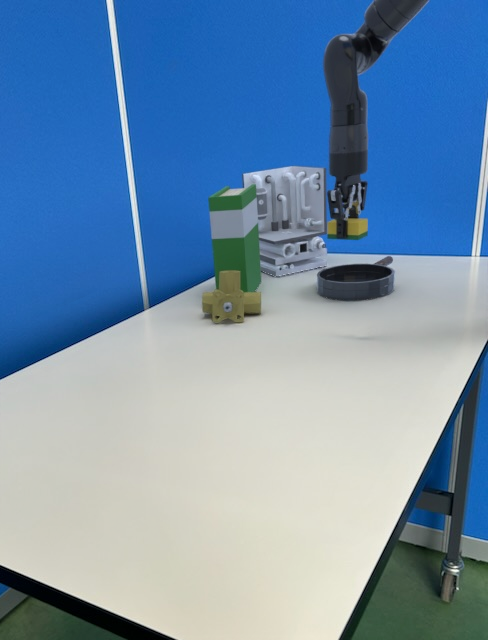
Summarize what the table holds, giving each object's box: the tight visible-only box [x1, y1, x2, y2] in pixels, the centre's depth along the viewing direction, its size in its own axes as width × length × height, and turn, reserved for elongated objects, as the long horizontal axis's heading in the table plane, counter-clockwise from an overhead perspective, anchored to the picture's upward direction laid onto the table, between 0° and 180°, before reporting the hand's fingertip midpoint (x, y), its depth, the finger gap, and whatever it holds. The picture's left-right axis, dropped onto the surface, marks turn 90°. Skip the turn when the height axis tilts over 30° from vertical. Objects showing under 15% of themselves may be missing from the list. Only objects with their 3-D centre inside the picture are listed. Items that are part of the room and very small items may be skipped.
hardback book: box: [207, 184, 262, 293], centre depth 148 cm, size 18×7×24 cm, turn 164°
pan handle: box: [373, 255, 394, 267], centre depth 153 cm, size 2×11×2 cm, turn 140°
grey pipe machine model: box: [241, 165, 328, 278], centre depth 164 cm, size 16×19×25 cm
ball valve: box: [201, 270, 262, 324], centre depth 134 cm, size 13×10×10 cm
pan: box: [316, 263, 396, 302], centre depth 144 cm, size 17×17×4 cm
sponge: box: [326, 218, 369, 241], centre depth 130 cm, size 7×4×4 cm, turn 51°
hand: (347, 235), depth 131 cm, fingers closed on sponge, 4 cm apart
